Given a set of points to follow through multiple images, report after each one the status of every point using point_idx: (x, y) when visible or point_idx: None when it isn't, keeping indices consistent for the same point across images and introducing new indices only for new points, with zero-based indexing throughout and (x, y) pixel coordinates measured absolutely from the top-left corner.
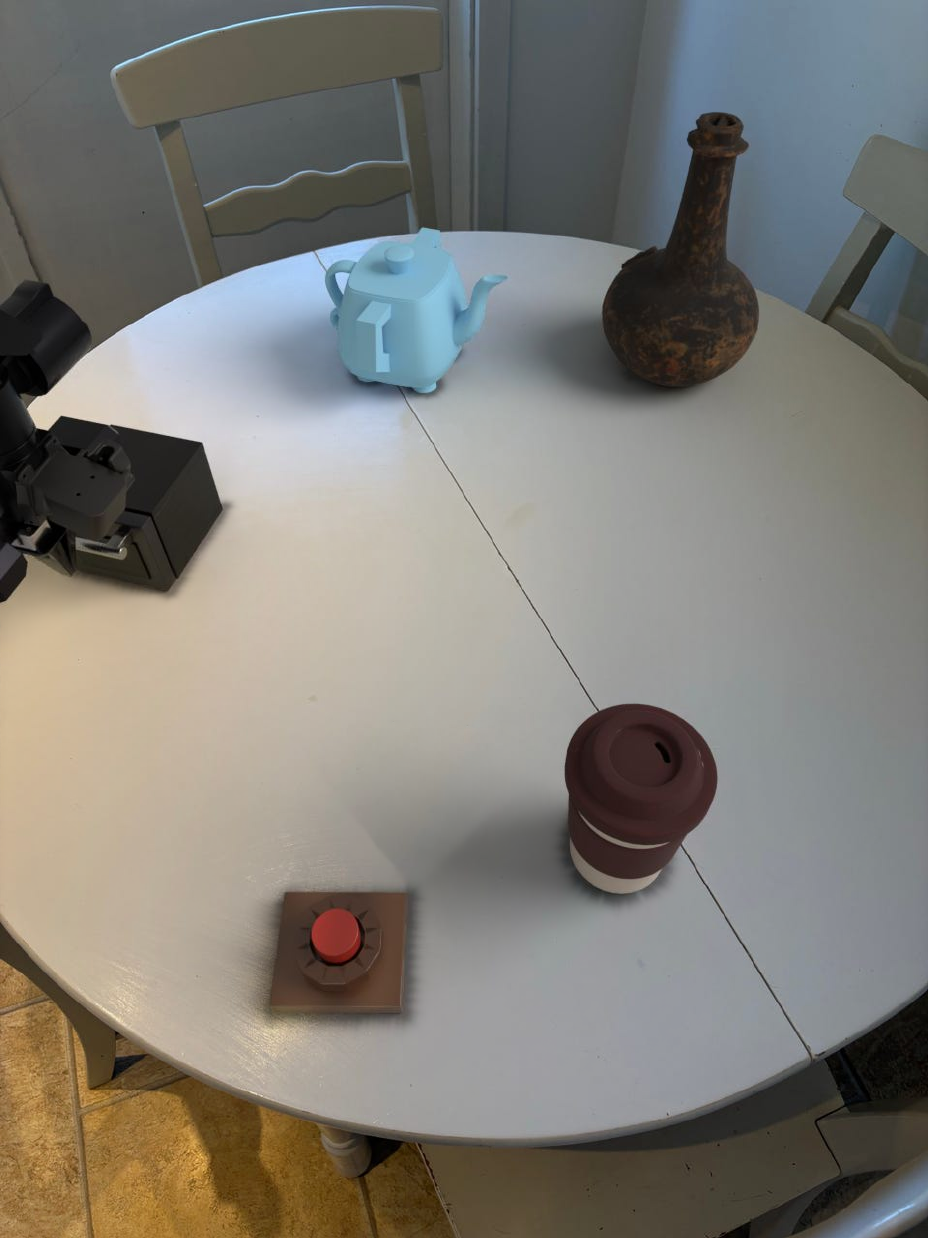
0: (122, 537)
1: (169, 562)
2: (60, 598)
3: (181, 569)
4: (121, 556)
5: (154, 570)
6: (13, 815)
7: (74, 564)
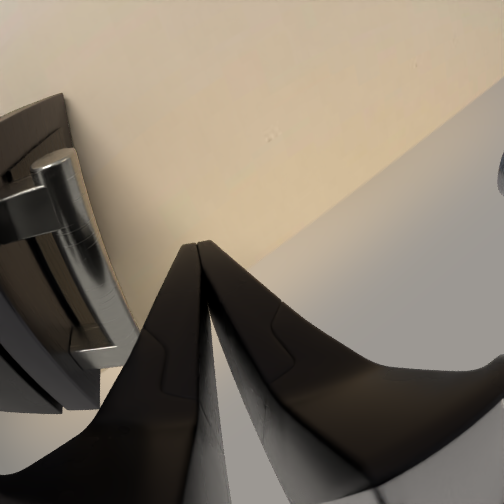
0: (8, 205)
1: None
2: (167, 251)
3: (12, 111)
4: (66, 151)
5: (41, 117)
6: (466, 103)
7: (187, 258)
